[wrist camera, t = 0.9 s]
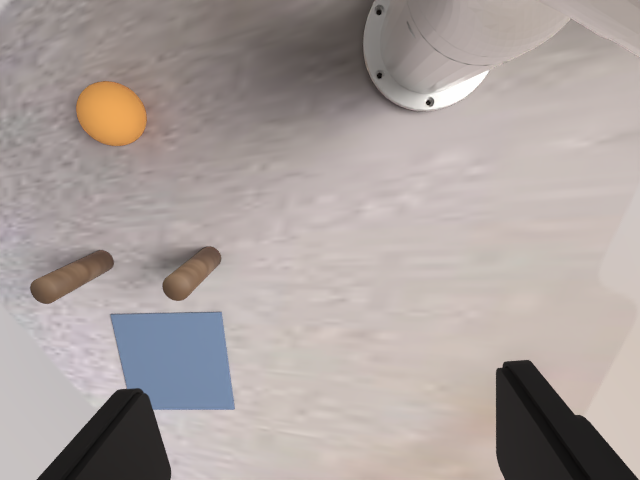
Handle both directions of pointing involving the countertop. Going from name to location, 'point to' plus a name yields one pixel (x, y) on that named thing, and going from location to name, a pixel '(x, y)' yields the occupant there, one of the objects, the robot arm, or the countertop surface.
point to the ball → (111, 113)
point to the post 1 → (71, 277)
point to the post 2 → (191, 274)
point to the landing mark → (176, 359)
